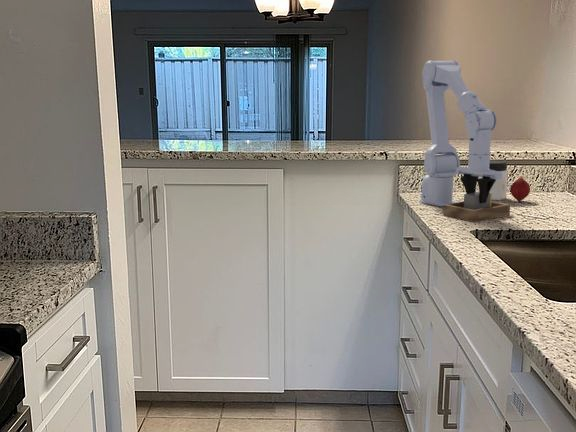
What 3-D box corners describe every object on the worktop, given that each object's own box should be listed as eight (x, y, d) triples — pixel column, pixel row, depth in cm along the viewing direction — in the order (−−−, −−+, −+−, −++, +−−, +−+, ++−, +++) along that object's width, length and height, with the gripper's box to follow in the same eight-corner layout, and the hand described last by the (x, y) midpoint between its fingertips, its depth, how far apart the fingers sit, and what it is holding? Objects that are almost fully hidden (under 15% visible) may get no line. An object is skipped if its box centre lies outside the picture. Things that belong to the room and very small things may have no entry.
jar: (497, 201, 186) (499, 164, 183) (473, 198, 192) (475, 162, 189) (510, 197, 192) (512, 161, 190) (486, 194, 198) (488, 159, 195)
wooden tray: (443, 215, 168) (443, 204, 167) (476, 208, 176) (476, 198, 175) (475, 222, 158) (476, 211, 158) (509, 215, 166) (510, 204, 166)
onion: (530, 203, 182) (532, 177, 181) (511, 202, 183) (513, 177, 182) (527, 199, 188) (528, 175, 186) (508, 199, 189) (509, 175, 187)
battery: (463, 207, 166) (464, 194, 165) (480, 204, 170) (481, 191, 169) (473, 209, 163) (474, 195, 163) (491, 206, 167) (491, 192, 167)
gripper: (510, 155, 160) (507, 203, 162) (468, 151, 171) (466, 196, 174) (493, 157, 156) (491, 206, 159) (451, 153, 168) (449, 199, 171)
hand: (476, 201), depth 166 cm, fingers closed on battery, 4 cm apart
